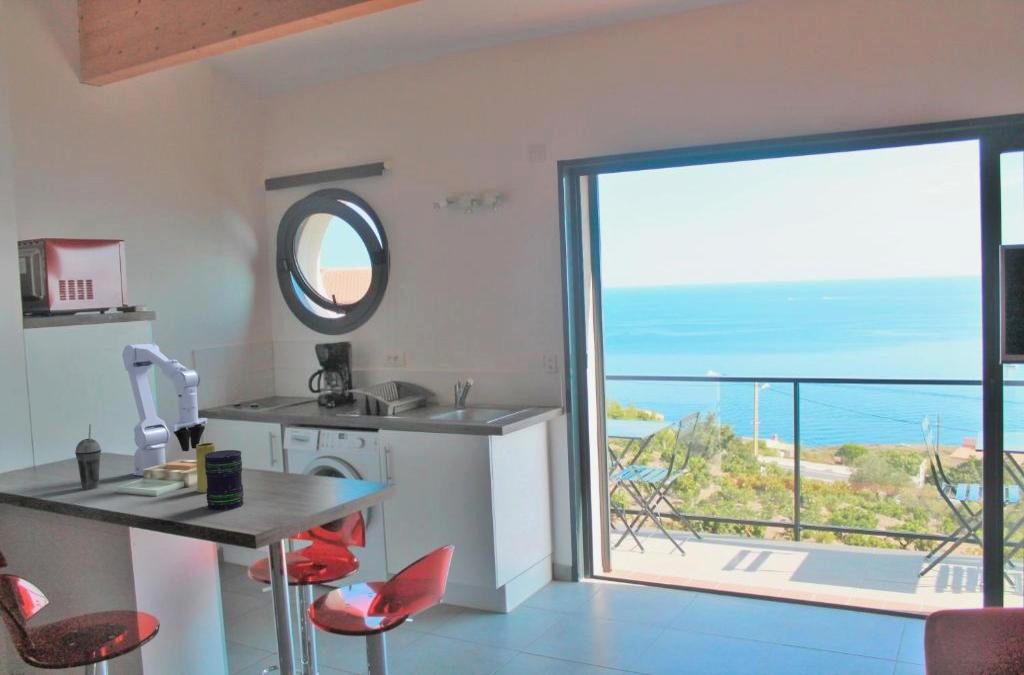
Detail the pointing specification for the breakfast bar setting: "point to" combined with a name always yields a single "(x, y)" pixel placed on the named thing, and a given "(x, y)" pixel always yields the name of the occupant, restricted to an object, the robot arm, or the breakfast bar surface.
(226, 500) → the storage jar
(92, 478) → the beverage cup
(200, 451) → the vase
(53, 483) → the breakfast bar surface
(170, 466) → the slab
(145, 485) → the tray
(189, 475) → the block
